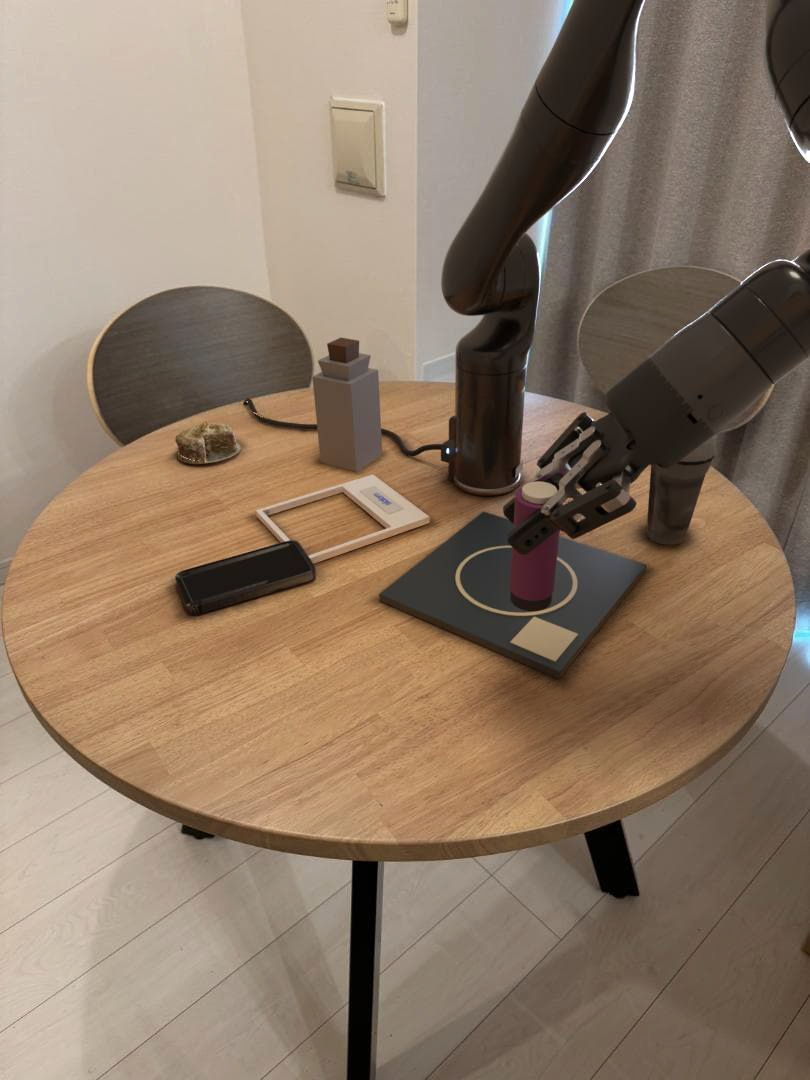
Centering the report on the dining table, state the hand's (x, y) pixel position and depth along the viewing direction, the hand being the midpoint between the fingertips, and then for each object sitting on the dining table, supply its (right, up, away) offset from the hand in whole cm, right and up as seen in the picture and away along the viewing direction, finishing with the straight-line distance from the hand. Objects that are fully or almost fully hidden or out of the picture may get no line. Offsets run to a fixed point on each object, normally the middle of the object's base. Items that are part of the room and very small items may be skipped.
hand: (512, 531), depth 61 cm
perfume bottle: (-17, +12, +52) cm, 56 cm away
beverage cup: (+24, 0, +31) cm, 39 cm away
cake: (-40, +13, +55) cm, 69 cm away
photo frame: (-17, +2, +36) cm, 40 cm away
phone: (-27, -5, +24) cm, 37 cm away
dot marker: (+2, -6, +4) cm, 7 cm away
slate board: (+4, -6, +22) cm, 23 cm away
